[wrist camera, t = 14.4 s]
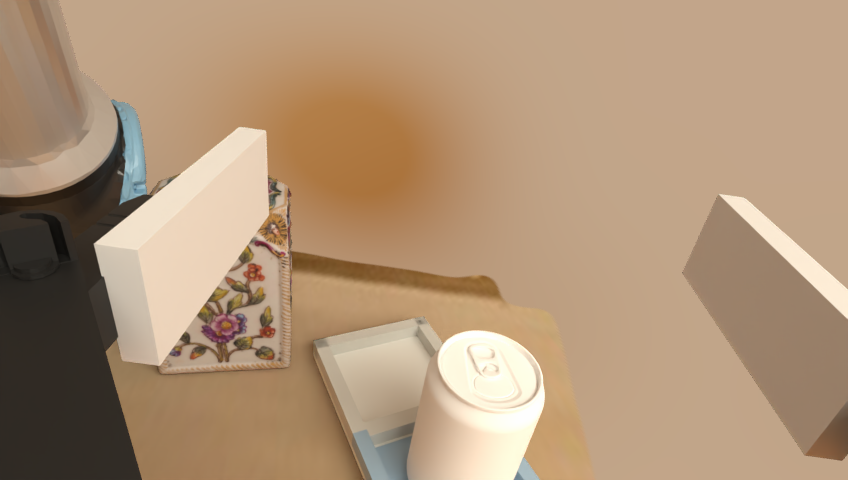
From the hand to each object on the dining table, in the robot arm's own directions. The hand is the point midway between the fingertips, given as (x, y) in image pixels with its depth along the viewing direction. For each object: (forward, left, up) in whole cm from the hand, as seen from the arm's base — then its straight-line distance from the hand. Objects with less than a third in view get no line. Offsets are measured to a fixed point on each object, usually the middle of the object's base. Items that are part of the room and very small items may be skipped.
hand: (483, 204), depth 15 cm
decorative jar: (-31, -4, -30) cm, 44 cm away
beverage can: (-8, +9, -29) cm, 32 cm away
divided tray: (-14, +8, -30) cm, 34 cm away
